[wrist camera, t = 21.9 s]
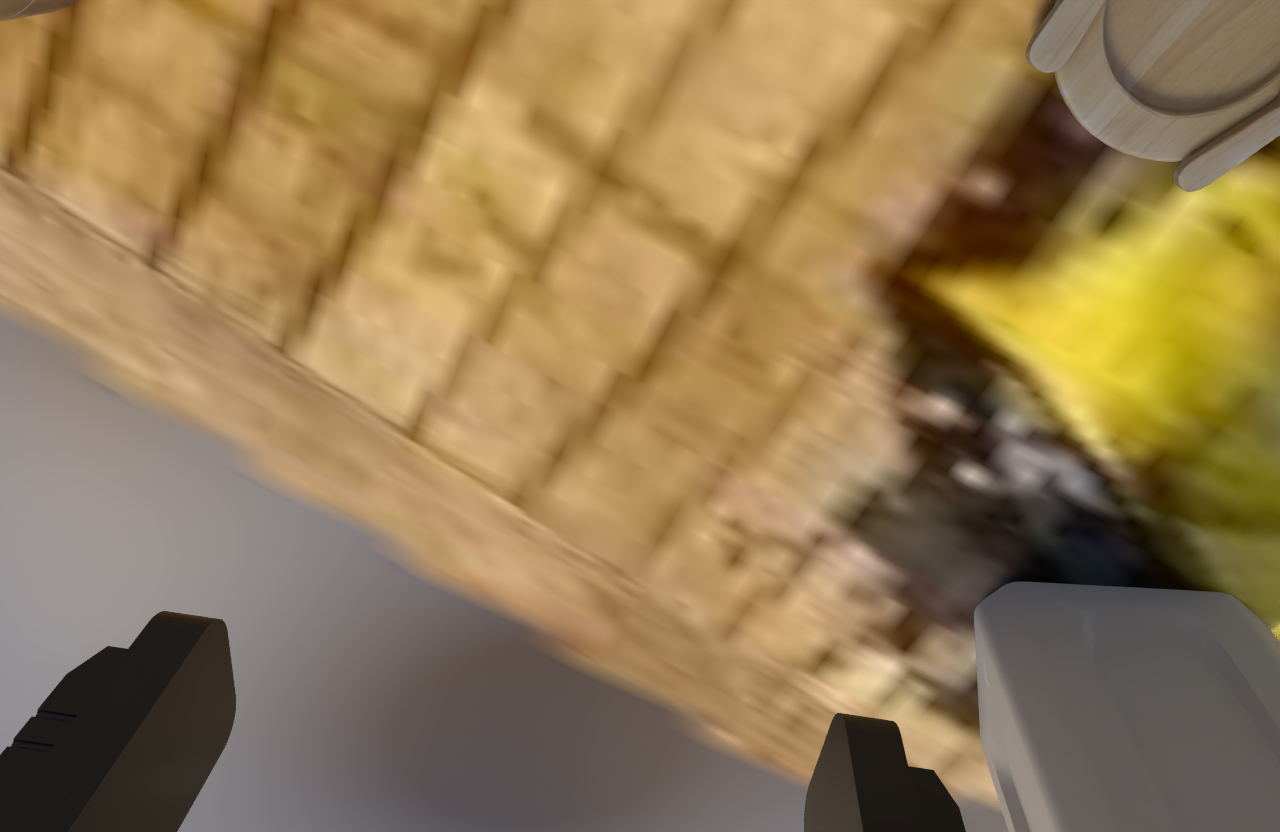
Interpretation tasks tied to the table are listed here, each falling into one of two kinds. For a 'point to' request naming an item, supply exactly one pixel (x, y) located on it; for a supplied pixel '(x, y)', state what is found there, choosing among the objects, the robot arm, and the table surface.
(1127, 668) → the grey tall block
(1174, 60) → the tableware set
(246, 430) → the table surface
